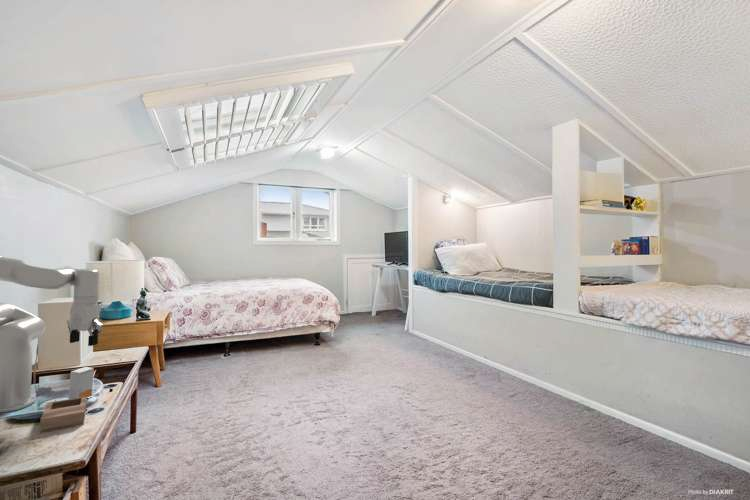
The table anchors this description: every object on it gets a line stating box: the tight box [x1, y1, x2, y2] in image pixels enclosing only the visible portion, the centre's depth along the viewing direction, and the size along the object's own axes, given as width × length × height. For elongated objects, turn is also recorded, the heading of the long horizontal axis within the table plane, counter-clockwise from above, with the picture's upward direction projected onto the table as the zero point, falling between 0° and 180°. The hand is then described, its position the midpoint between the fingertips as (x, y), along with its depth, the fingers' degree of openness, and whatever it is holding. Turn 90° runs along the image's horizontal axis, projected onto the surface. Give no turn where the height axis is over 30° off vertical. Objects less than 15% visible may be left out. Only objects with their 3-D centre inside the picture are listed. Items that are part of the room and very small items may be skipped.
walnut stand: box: [39, 396, 88, 434], centre depth 123 cm, size 14×11×4 cm
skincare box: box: [68, 366, 95, 399], centre depth 138 cm, size 6×4×12 cm
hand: (83, 343), depth 138 cm, fingers open, 9 cm apart
